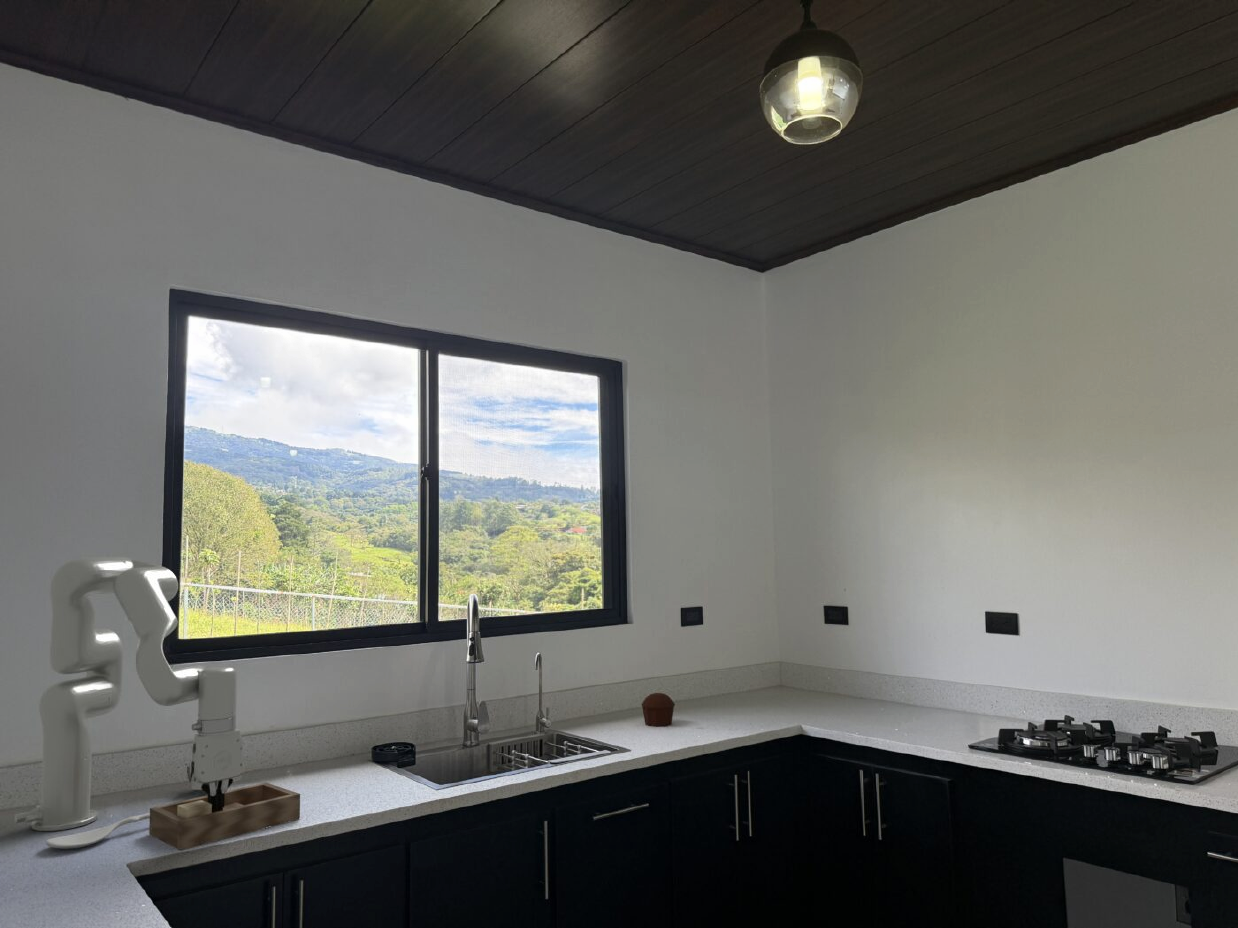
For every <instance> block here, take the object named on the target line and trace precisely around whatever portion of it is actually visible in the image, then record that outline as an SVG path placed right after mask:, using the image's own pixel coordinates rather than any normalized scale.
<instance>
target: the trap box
mask: <svg viewBox="0 0 1238 928" xmlns="http://www.w3.org/2000/svg"><path fill="white" fill-rule="evenodd" d="M207 799H208V795H201V796H199V797H194V798H190V799H184V800H180V801H176V802H171V803H167V804H162V805H159V806H153V807H150V808H149V813H150V818H149V826H148V827H149V831H148V834H150V836H151V835H152V836H151V837H153V836H154V837H153V838H155V839H157V840H159V841H160V842H163V843H164V844H166V845H169V846H171V847H172V848H173V849H174V848H175V849H176V850H178V851H183V850H188V849H191V848H195V847H199V846H203V845H206V844H210V843H213V842H217V841H221V840H225V839H229V838H233V837H236V836H242V835H245V834H248V833H252V832H256V831H260V830H264V829H267V828H266V827H268V828H270V827H269V826H272V827H275V825H276V826H278V825H283V824H286V823H285V822H287V823H290V822H289V821H291V822H294V821H293V820H295V821H297V820H296V819H299V818H300V819H301V793H298V792H295V791H294V790H293V791H292V790H289V789H286V788H284V787H280V786H278V785H275V784H272V783H269V782H261V783H258V784H252V785H248V786H243V787H239V788H235V789H230V790H229V789H228V790H227V792H226V793H225V803H224V807H223V811H218V812H214V813H210V814H206V815H202V816H197V817H193V818H189V819H183V818H181V817H179V816H177V806H178V805H182V804H187V803H191V802H195V801H200V800H202V801H205V802H207ZM300 819H299V820H300ZM263 828H264V829H263Z"/></svg>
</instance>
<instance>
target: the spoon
mask: <svg viewBox="0 0 1238 928" xmlns="http://www.w3.org/2000/svg"><path fill="white" fill-rule="evenodd" d="M147 819H150V812H148V813H144V814H140V815H139V814H138V815H133V816H129V817H127V818H124V819H121V820H119V821H116V822H115V823H112V824H110V825H106V826H104V827H100V828H95V829H93V830H87V831H82V832H78V833H73V834H67V835H63V836H57V837H53V838H48V839H46V840H45V844H46V846H47V847H50V848H55V849H65V850H67V849H69V850H71V849H73V850H74V849H81V848H85V847H88V846H91V845H93V844H95V843H98V842H100V841H102V840H103V839H105V838H106V837H107V836H109V835H111V833H113V832H114V831H115V830H116V829H118V828H120V827H122V826H124V825H127V824H130V823H132V824H133V823H136V822H138V821H142V820H147Z"/></svg>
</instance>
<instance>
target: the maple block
mask: <svg viewBox="0 0 1238 928" xmlns="http://www.w3.org/2000/svg"><path fill="white" fill-rule="evenodd" d="M210 813H212V804H210V803H207V802H205V801H202V800H200V801H195V802H191V803H187V804H182V805H178V806H177V816H179V817H181V818H183V819H189V818H193V817H197V816H202V815H206V814H210Z"/></svg>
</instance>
